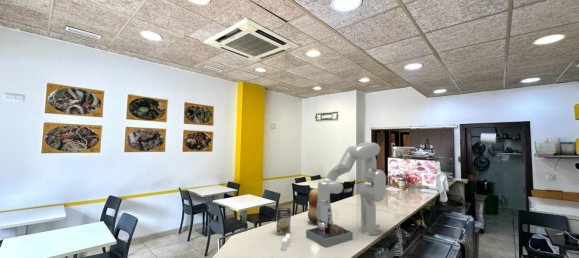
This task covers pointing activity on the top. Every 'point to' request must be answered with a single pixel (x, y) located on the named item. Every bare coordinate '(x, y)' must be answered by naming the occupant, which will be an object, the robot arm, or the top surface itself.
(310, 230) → the crate
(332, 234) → the brown block
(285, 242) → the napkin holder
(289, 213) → the coffee box
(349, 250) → the top surface
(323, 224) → the can
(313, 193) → the butternut squash
